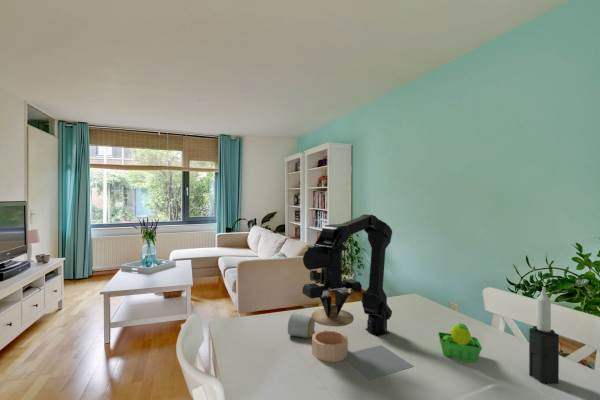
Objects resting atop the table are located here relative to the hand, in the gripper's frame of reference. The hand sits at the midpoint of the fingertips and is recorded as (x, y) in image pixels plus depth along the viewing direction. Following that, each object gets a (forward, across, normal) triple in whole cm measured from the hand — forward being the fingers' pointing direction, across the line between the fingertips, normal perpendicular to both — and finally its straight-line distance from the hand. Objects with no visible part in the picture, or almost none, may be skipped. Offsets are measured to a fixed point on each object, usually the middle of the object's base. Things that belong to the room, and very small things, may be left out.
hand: (332, 315), depth 93 cm
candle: (+12, -46, +36) cm, 59 cm away
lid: (+1, 0, 0) cm, 1 cm away
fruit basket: (+12, -35, +18) cm, 41 cm away
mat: (+12, -10, +10) cm, 18 cm away
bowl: (+12, 0, -1) cm, 12 cm away
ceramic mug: (+12, +2, -17) cm, 21 cm away
